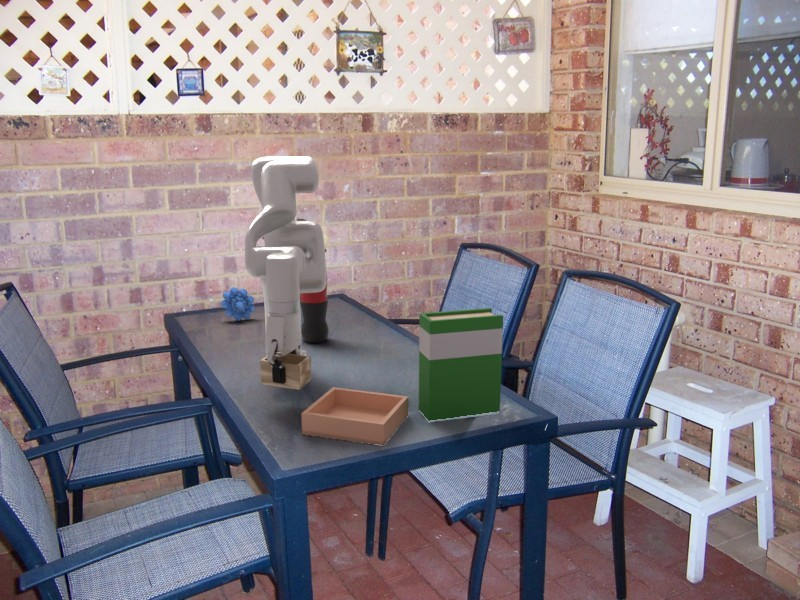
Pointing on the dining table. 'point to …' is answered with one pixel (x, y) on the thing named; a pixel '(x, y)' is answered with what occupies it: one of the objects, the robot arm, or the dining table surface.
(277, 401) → the dining table surface
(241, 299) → the blue flower
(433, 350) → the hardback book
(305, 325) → the cola bottle
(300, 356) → the pine crate
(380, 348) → the dining table surface
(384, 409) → the terracotta crate
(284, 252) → the robot arm
